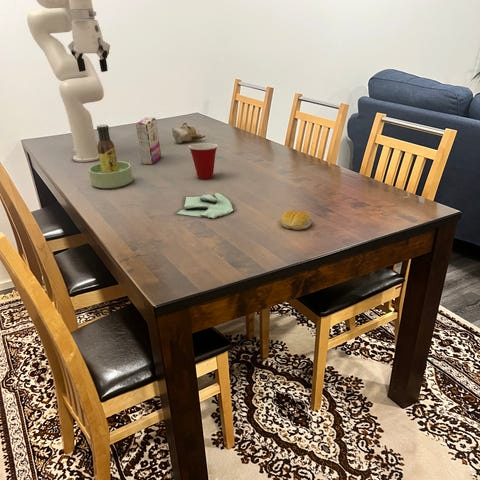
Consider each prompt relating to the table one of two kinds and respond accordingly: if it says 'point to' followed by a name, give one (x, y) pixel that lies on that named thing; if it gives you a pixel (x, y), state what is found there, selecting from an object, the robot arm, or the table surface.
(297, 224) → the bread roll
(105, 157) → the sauce bottle
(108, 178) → the bowl
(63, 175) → the table surface
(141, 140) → the candy bar box
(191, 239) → the table surface
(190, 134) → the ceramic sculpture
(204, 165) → the plastic cup
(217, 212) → the cloth
